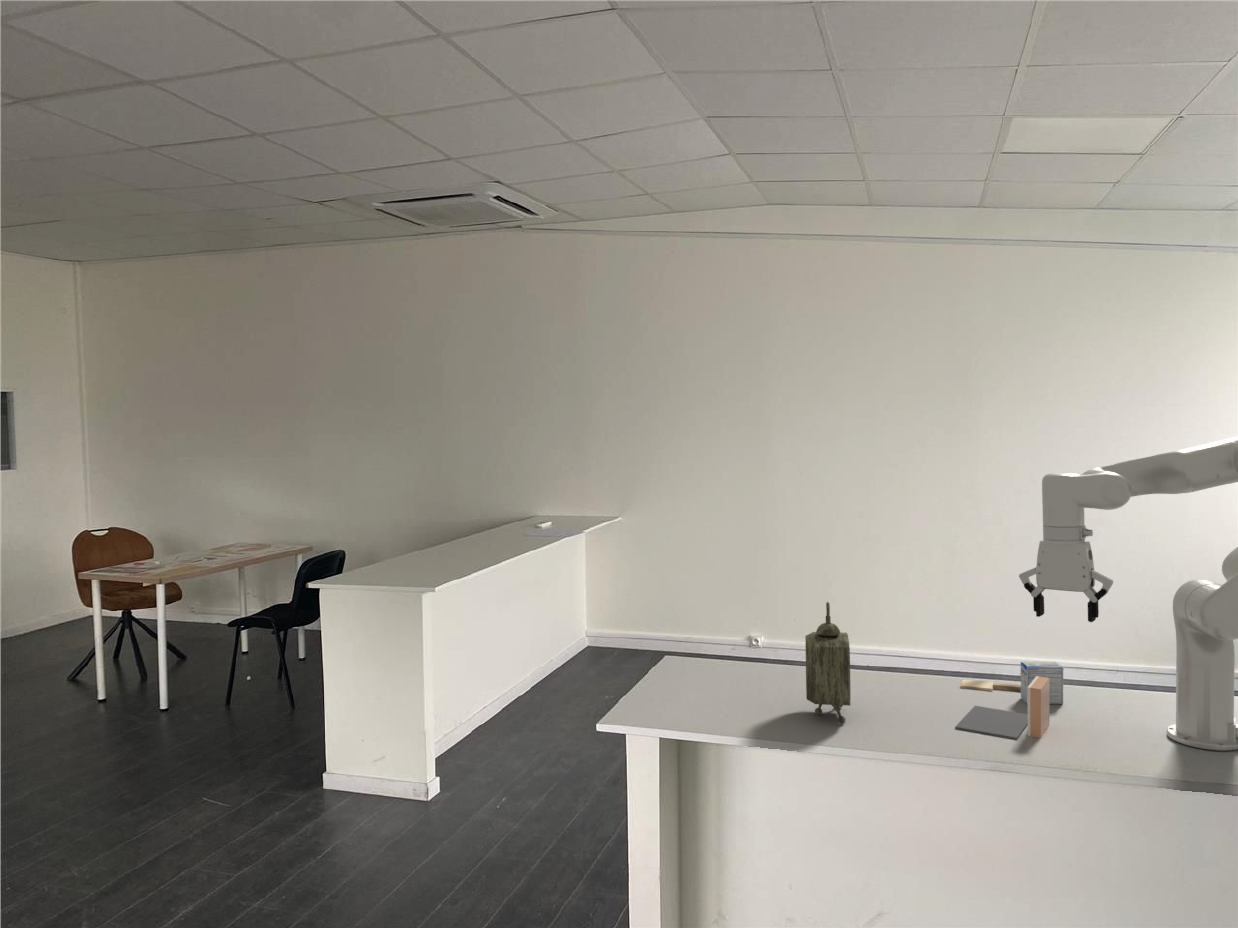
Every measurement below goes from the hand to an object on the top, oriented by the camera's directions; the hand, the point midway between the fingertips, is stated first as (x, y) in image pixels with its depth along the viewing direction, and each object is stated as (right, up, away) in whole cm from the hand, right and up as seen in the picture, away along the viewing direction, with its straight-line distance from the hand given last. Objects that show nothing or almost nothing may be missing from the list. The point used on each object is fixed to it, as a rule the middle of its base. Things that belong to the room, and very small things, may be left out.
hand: (1065, 618), depth 178 cm
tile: (-4, -24, +3) cm, 24 cm away
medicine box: (+5, -23, +21) cm, 31 cm away
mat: (-11, -24, +8) cm, 27 cm away
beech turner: (-1, -22, +31) cm, 38 cm away
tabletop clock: (-45, -24, +15) cm, 53 cm away
